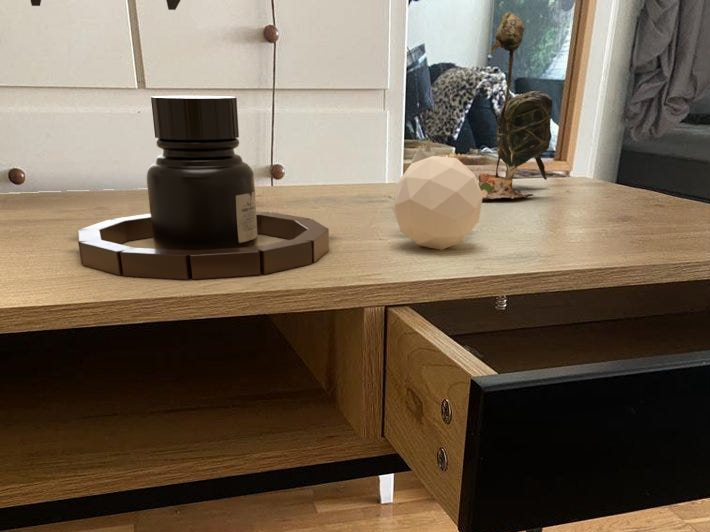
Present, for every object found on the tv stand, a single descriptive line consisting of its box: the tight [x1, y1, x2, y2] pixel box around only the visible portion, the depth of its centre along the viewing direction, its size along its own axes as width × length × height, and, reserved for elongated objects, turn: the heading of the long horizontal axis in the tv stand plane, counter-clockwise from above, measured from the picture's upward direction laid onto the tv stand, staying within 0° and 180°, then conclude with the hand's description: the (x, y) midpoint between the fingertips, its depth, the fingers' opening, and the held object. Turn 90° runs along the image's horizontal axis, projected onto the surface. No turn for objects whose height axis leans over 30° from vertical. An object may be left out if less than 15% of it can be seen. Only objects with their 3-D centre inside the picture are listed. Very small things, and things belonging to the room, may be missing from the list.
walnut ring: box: [77, 211, 330, 281], centre depth 66 cm, size 21×21×2 cm
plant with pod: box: [478, 11, 555, 200], centre depth 92 cm, size 8×11×20 cm
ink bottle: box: [146, 95, 258, 251], centre depth 64 cm, size 10×9×12 cm
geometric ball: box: [392, 155, 484, 251], centre depth 67 cm, size 8×8×8 cm
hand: (109, 2), depth 76 cm, fingers open, 13 cm apart
